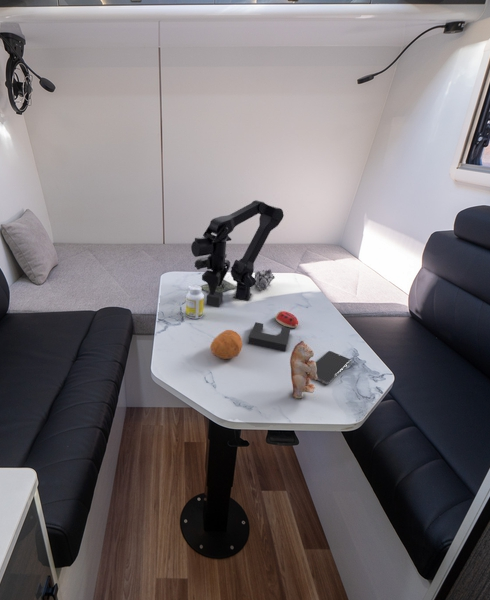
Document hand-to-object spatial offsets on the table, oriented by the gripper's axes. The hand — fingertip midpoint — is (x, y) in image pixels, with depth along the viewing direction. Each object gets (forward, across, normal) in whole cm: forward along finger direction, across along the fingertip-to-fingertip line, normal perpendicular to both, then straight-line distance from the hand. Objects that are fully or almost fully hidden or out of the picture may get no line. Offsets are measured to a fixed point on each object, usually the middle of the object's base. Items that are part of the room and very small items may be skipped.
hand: (215, 290), depth 147 cm
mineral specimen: (+6, -24, +15) cm, 29 cm away
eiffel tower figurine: (+6, -16, -3) cm, 17 cm away
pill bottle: (+6, +13, -4) cm, 15 cm away
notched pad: (+6, +19, +25) cm, 32 cm away
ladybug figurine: (+6, +5, +29) cm, 30 cm away
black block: (+6, 0, 0) cm, 6 cm away
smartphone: (+6, +29, +44) cm, 53 cm away
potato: (+6, +34, +14) cm, 37 cm away
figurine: (+6, +44, +37) cm, 58 cm away
